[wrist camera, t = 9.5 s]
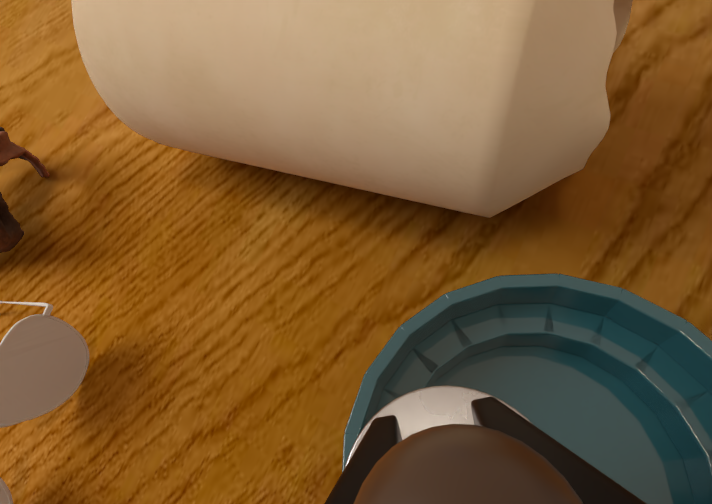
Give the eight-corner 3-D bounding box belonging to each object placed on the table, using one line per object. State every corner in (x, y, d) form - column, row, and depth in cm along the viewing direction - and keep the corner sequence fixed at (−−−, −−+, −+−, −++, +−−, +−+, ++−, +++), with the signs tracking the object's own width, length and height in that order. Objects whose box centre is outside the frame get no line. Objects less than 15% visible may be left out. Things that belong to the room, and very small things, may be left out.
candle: (160, -169, 23) (711, -213, 15) (263, 44, 36) (598, 82, 28) (4, 14, 19) (657, 88, 11) (182, 185, 31) (552, 279, 23)
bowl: (856, 652, 15) (1002, 711, 11) (430, 781, 15) (423, 883, 11) (609, 271, 22) (643, 227, 19) (327, 365, 23) (303, 340, 19)
